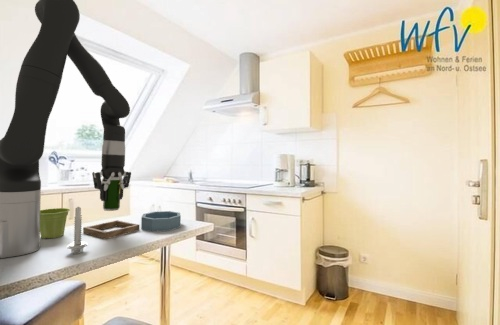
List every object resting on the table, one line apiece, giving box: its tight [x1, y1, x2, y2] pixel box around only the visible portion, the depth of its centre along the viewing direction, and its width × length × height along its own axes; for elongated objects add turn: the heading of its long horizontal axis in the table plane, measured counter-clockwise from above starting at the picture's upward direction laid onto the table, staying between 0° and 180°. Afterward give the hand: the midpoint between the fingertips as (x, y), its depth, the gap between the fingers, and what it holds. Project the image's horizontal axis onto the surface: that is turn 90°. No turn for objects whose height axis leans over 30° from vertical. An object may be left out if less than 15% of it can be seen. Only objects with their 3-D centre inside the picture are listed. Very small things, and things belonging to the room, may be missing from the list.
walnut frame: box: [82, 220, 140, 240], centre depth 94 cm, size 13×13×2 cm
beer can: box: [102, 177, 121, 212], centre depth 93 cm, size 5×5×12 cm
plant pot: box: [40, 207, 71, 240], centre depth 86 cm, size 9×9×9 cm
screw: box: [66, 206, 89, 255], centre depth 73 cm, size 13×5×5 cm
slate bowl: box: [140, 210, 182, 232], centre depth 103 cm, size 14×14×4 cm
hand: (111, 199), depth 93 cm, fingers closed on beer can, 5 cm apart
